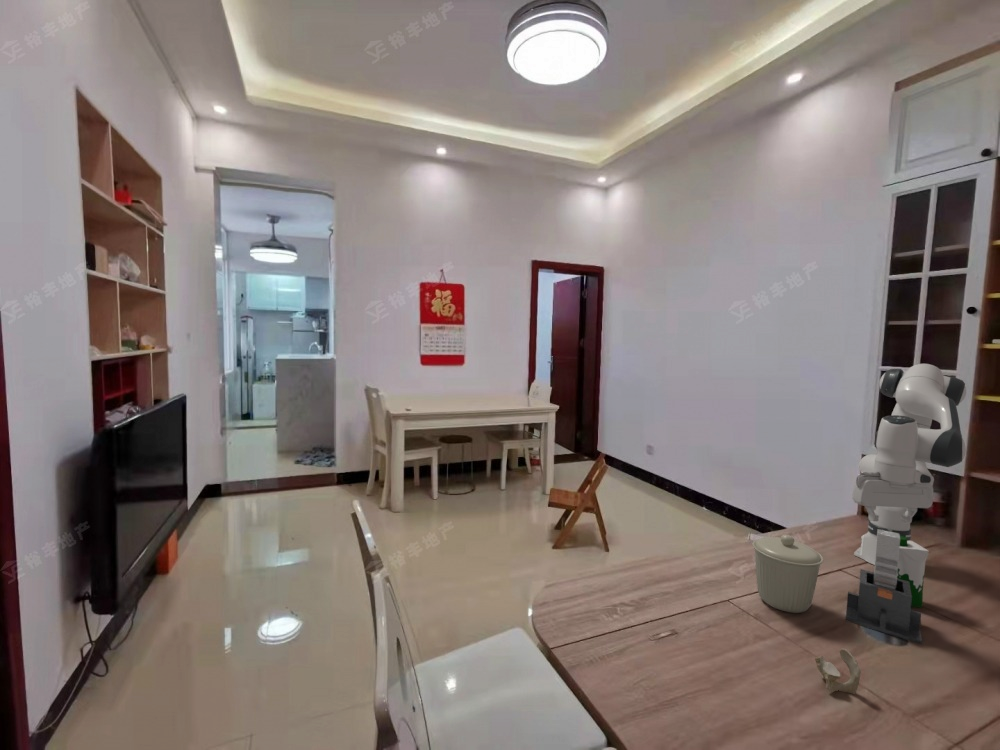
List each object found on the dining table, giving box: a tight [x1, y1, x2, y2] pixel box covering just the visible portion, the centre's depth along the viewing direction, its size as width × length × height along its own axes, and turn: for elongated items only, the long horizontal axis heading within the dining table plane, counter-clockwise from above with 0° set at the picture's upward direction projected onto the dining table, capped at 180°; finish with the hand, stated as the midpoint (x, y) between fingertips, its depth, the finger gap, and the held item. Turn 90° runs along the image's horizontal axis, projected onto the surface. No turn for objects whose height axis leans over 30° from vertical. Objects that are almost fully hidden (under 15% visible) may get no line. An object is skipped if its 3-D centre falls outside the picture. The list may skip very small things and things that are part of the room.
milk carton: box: [897, 536, 930, 609], centre depth 140 cm, size 9×9×20 cm
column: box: [873, 529, 900, 590], centre depth 129 cm, size 6×5×24 cm
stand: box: [845, 568, 923, 645], centre depth 130 cm, size 16×16×11 cm
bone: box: [814, 648, 862, 695], centre depth 103 cm, size 9×6×10 cm
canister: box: [751, 534, 824, 614], centre depth 136 cm, size 18×18×21 cm
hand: (889, 521), depth 129 cm, fingers open, 8 cm apart
